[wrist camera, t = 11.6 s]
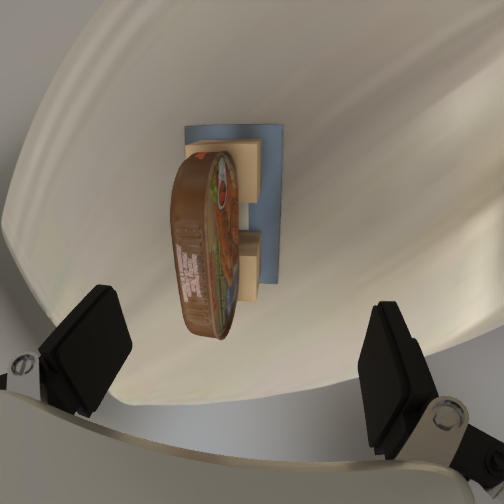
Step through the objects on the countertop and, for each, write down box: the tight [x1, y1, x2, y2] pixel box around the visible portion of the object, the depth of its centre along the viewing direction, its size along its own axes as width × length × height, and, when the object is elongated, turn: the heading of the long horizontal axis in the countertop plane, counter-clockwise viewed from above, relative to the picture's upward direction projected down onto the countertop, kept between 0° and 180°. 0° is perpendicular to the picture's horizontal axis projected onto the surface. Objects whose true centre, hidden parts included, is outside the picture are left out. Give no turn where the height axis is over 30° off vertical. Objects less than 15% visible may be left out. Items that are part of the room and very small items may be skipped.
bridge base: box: [185, 124, 283, 302], centre depth 29 cm, size 10×18×7 cm, turn 0°
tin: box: [170, 150, 239, 340], centre depth 23 cm, size 15×3×8 cm, turn 0°
